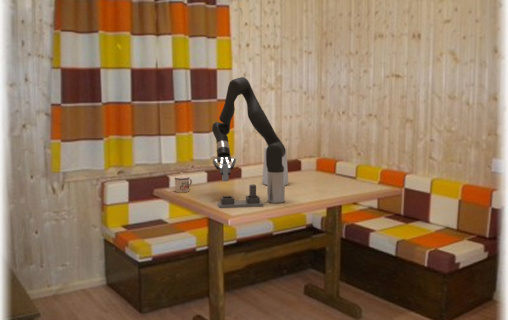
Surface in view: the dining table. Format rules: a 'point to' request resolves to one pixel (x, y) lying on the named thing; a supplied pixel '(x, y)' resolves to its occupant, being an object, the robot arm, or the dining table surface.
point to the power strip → (250, 200)
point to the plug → (225, 172)
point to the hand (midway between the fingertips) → (225, 174)
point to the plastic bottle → (284, 163)
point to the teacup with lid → (182, 183)
